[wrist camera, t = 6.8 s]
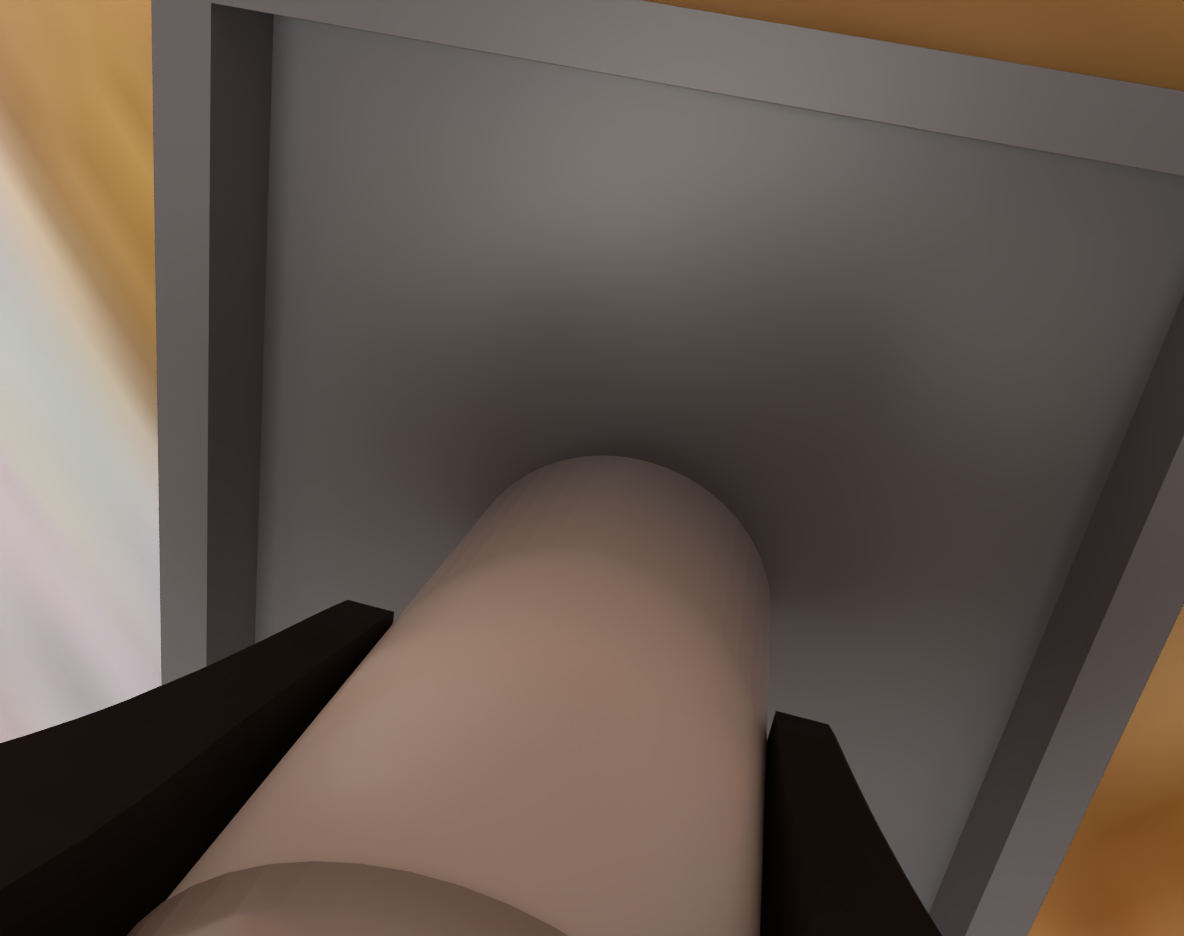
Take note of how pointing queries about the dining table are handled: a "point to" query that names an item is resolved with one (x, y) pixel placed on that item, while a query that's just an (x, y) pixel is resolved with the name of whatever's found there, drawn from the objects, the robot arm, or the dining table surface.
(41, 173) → the dining table surface
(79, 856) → the robot arm
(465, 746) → the salt shaker
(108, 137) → the dining table surface
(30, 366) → the dining table surface
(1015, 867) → the tray
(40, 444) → the dining table surface
